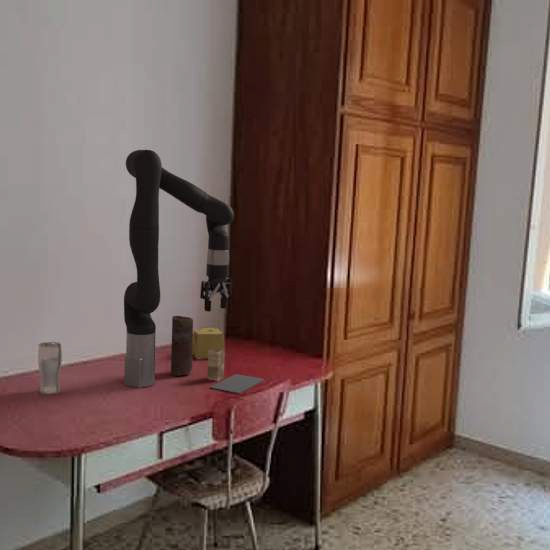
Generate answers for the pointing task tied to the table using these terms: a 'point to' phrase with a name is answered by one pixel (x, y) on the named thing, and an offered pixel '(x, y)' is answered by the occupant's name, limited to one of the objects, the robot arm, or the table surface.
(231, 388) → the mat
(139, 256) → the robot arm
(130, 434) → the table surface
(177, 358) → the brown rough cylinder
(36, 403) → the table surface
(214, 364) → the block
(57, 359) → the beer glass
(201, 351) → the cheese
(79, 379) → the table surface
